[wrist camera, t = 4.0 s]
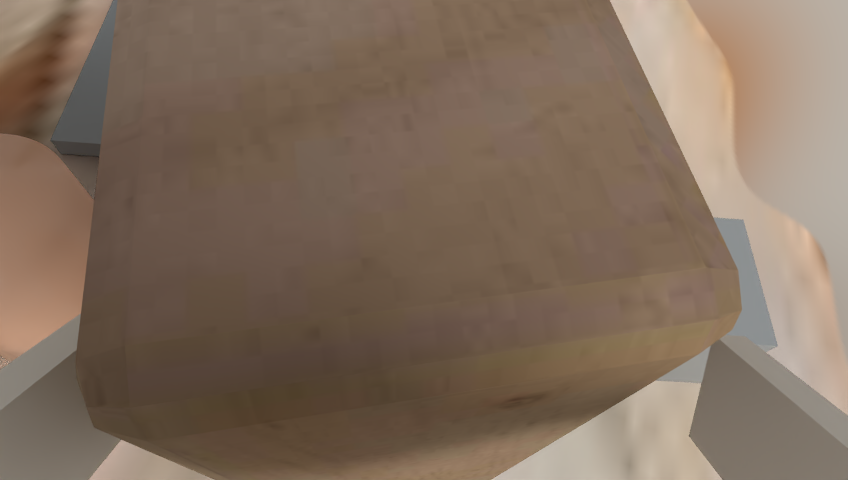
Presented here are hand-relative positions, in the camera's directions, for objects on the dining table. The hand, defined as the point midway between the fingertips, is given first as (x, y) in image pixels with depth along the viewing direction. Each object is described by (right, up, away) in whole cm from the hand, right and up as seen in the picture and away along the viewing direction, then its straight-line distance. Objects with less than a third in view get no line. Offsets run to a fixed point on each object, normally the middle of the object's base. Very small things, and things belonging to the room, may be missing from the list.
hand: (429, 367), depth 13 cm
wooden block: (-2, -4, +14) cm, 15 cm away
